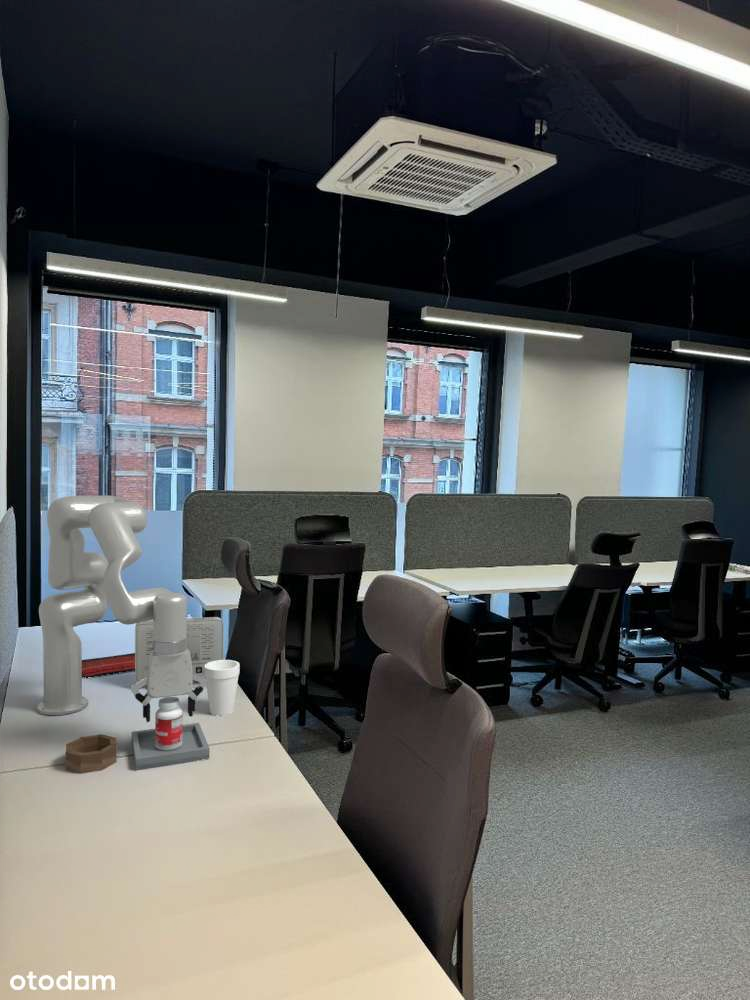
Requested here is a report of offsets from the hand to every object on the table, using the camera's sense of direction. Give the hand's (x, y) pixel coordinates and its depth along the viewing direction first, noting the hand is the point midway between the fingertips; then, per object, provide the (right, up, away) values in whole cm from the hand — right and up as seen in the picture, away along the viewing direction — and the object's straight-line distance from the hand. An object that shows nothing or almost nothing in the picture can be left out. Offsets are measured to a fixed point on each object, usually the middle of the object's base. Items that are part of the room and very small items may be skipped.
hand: (169, 717), depth 155 cm
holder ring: (-16, -8, -6) cm, 19 cm away
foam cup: (+7, -7, +25) cm, 27 cm away
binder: (-38, -5, +61) cm, 72 cm away
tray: (0, -8, 0) cm, 8 cm away
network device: (-11, -5, +46) cm, 47 cm away
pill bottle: (0, -7, 0) cm, 7 cm away
